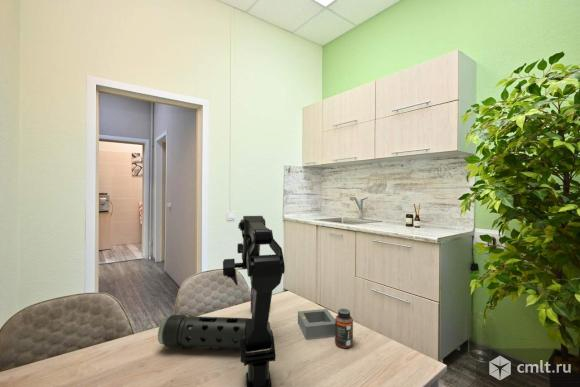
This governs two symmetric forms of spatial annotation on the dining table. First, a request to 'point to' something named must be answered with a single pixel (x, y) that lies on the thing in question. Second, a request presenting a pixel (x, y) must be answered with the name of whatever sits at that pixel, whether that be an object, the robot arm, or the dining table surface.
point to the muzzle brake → (201, 332)
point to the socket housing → (316, 323)
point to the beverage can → (252, 297)
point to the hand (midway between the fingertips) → (249, 283)
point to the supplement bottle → (344, 329)
